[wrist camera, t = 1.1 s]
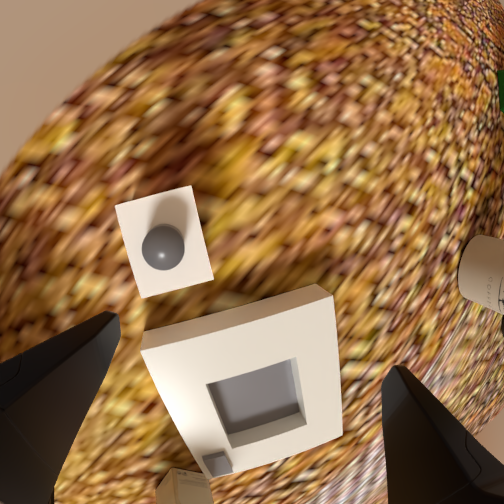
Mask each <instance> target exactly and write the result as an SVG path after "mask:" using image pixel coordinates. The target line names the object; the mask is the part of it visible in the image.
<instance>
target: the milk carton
mask: <svg viewBox="0 0 504 504" xmlns="http://www.w3.org/2000/svg"><path fill="white" fill-rule="evenodd" d="M497 72H498V83H499V97H500V110H501V111H502V112H503V113H504V70H499V71H497Z"/></svg>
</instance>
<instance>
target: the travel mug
mask: <svg viewBox="0 0 504 504" xmlns="http://www.w3.org/2000/svg"><path fill="white" fill-rule="evenodd" d="M458 285H459V290H460V293H461V294H462V296H463V297H465V298H467V299H469V300H471V301H474V302H476V303H478V304H481V305H483V306H485V307H487V308H490V309H492V310H494V311H496V312H499V313H501V314H503V315H504V240H503V239H498V238H494V237H490V236H485V235H476V236H475V237H473V238H472V239H471V240H470V242H469V243H468V245H467V246H466V248H465V250H464V253H463V255H462V258H461V262H460V266H459V273H458Z"/></svg>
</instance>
